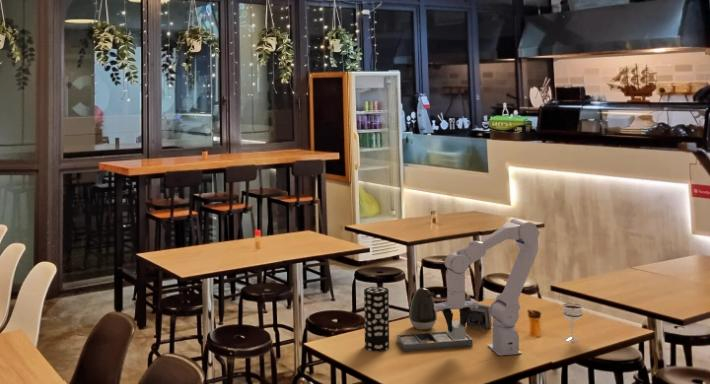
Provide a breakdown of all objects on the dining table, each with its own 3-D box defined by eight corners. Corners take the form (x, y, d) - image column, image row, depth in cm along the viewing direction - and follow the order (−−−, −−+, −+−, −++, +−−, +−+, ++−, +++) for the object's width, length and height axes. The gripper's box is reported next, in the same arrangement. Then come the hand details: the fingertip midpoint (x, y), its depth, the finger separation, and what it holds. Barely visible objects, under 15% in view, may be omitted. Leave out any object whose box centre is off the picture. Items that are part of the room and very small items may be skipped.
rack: (472, 346, 210) (472, 339, 210) (404, 351, 206) (404, 344, 206) (462, 336, 220) (462, 329, 220) (397, 341, 216) (396, 334, 216)
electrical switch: (492, 327, 229) (491, 303, 228) (487, 332, 225) (486, 308, 223) (468, 323, 235) (467, 300, 233) (463, 328, 230) (462, 305, 229)
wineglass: (572, 334, 220) (573, 302, 219) (586, 341, 214) (587, 307, 212) (557, 337, 217) (558, 304, 216) (570, 343, 211) (571, 309, 210)
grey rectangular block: (464, 339, 199) (465, 327, 199) (454, 339, 199) (454, 327, 198) (457, 332, 206) (457, 320, 206) (447, 332, 206) (447, 321, 205)
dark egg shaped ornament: (423, 334, 223) (423, 293, 221) (403, 327, 231) (403, 287, 229) (443, 328, 229) (443, 288, 228) (422, 321, 237) (422, 282, 236)
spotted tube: (374, 341, 217) (373, 285, 214) (394, 346, 211) (393, 289, 209) (359, 348, 210) (359, 290, 208) (379, 353, 205) (378, 294, 203)
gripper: (472, 285, 206) (472, 324, 207) (431, 288, 204) (431, 328, 205) (480, 291, 199) (480, 331, 201) (437, 294, 197) (437, 335, 198)
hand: (456, 330), depth 202 cm, fingers closed on grey rectangular block, 3 cm apart
